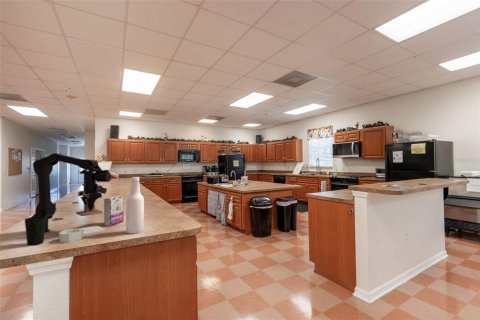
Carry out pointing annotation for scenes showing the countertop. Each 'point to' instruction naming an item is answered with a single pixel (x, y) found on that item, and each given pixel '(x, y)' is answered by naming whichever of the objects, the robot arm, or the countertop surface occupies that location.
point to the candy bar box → (113, 210)
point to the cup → (35, 230)
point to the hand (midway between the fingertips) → (89, 209)
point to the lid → (89, 211)
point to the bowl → (70, 235)
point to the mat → (92, 229)
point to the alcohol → (135, 209)
